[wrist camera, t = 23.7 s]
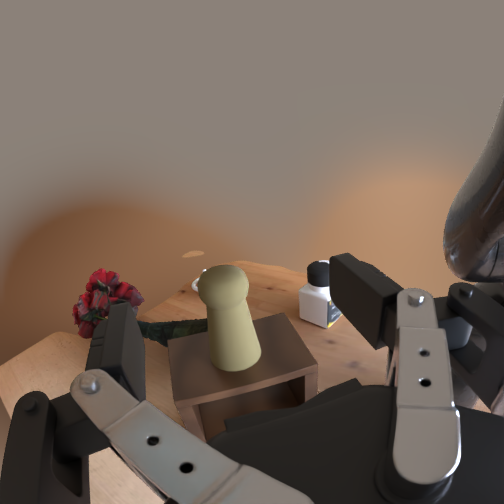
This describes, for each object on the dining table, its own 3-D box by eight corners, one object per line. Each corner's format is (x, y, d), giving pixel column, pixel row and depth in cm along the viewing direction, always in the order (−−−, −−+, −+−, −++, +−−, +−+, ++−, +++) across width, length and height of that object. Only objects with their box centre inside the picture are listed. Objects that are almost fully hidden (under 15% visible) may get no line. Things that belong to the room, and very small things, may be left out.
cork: (266, 339, 38) (257, 257, 34) (254, 374, 33) (241, 288, 28) (219, 335, 40) (203, 257, 35) (202, 367, 34) (180, 285, 30)
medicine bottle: (327, 329, 61) (328, 277, 56) (299, 318, 66) (296, 267, 61) (345, 312, 65) (347, 261, 60) (318, 302, 70) (317, 253, 65)
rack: (288, 385, 49) (284, 312, 43) (314, 435, 39) (318, 363, 33) (193, 410, 46) (167, 339, 40) (205, 466, 36) (173, 401, 30)
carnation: (228, 382, 61) (96, 349, 70) (243, 296, 68) (113, 280, 77) (199, 379, 47) (53, 336, 56) (221, 270, 54) (75, 256, 63)
